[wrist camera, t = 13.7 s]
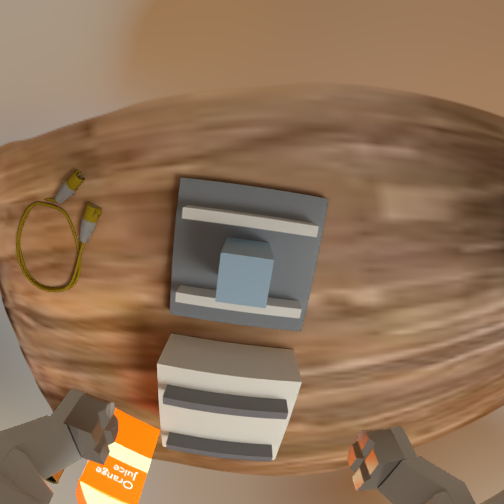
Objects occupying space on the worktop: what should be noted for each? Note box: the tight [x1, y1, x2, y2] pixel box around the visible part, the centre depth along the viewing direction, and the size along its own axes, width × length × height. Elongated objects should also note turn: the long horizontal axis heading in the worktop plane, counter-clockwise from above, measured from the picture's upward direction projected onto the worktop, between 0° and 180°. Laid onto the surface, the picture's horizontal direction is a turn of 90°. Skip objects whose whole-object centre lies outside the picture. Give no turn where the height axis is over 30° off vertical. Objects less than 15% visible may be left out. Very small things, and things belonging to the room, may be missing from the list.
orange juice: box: [76, 408, 160, 504], centre depth 26 cm, size 8×9×20 cm
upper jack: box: [157, 333, 302, 462], centre depth 29 cm, size 14×14×8 cm
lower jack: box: [170, 178, 328, 331], centre depth 27 cm, size 14×14×3 cm
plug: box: [215, 237, 274, 308], centre depth 25 cm, size 4×4×6 cm
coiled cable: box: [16, 170, 102, 292], centre depth 28 cm, size 12×16×2 cm
